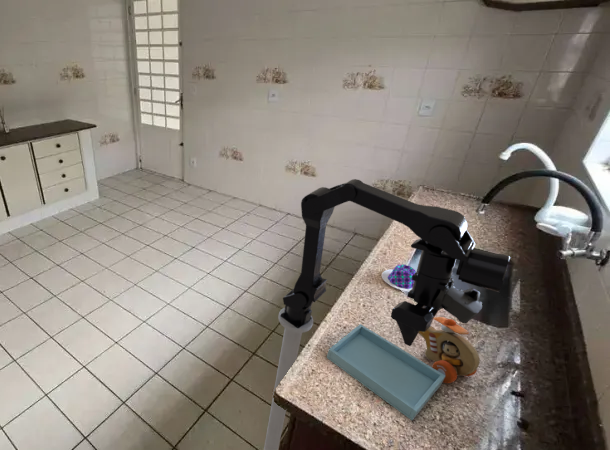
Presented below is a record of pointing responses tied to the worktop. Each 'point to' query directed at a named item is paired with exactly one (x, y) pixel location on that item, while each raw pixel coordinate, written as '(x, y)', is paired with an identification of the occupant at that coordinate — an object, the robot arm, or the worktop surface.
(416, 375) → the teal tray
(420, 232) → the robot arm
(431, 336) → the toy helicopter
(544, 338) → the worktop surface
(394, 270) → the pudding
